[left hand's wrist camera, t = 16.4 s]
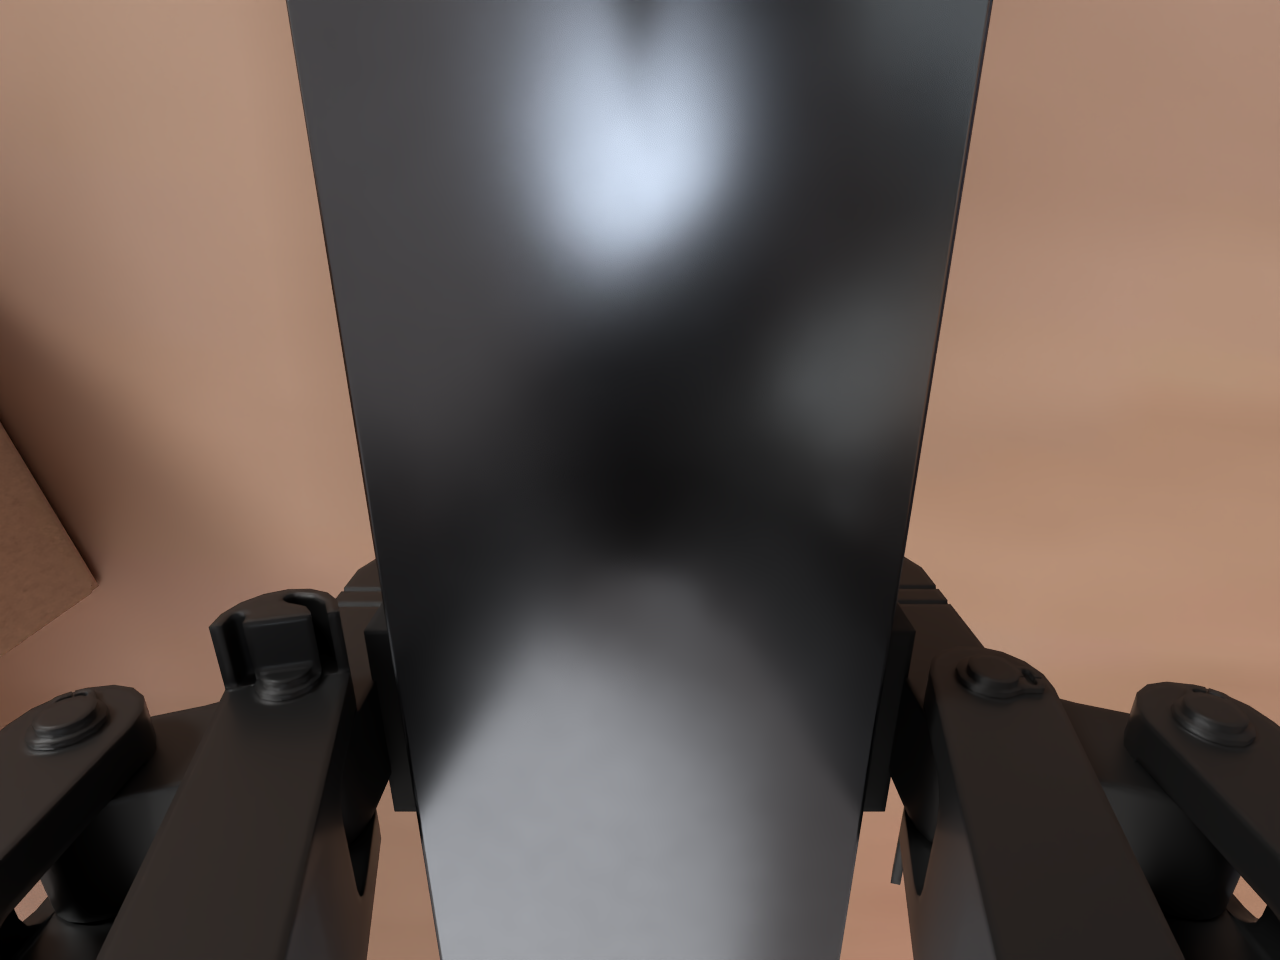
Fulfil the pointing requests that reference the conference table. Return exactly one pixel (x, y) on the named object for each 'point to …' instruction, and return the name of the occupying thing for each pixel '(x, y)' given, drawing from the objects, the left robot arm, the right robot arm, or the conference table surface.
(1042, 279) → the conference table surface
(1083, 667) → the conference table surface
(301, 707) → the left robot arm
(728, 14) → the bar
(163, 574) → the conference table surface
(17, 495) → the box
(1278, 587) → the conference table surface
